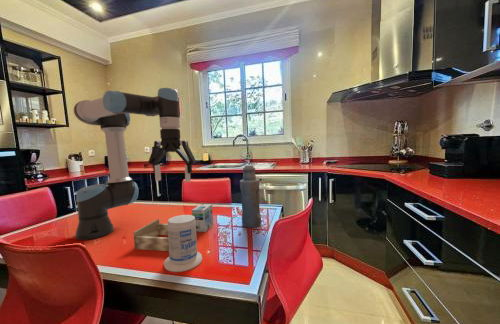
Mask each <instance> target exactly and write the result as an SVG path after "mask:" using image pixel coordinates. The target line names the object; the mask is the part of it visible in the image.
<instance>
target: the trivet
mask: <svg viewBox="0 0 500 324" xmlns="http://www.w3.org/2000/svg"><path fill="white" fill-rule="evenodd" d="M202 260H203V255H202V254H201V252H199V251H197V257H196V258H195V259H194V260H193V261H192V262H190V263H187V264H182V265H177V264H173V263H171V261H170V257H169V256H168V257H166V259H164V261H163V267H164V269H165V270H166V271H168V272H171V273H182V272H187V271H190V270H193V269H195V268H197V266H199V265H200V264H201V263H202Z"/></svg>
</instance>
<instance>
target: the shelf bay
mask: <svg viewBox="0 0 500 324" xmlns="http://www.w3.org/2000/svg"><path fill="white" fill-rule="evenodd" d="M132 234H133V244H134V249H135V250H147V251H163V252H169V241H168V237H167V236H168V223H160V219H159V218H157V219H154V220H153V221H151V222H149V223H148V224H146V225H144V226H142V227H140V228H138V229H137V230H135V231H133V233H132ZM160 235H161V236H162V237H161V236H160ZM163 236H165V237H163Z"/></svg>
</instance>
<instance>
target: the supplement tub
mask: <svg viewBox="0 0 500 324" xmlns="http://www.w3.org/2000/svg"><path fill="white" fill-rule="evenodd" d="M167 224H168V235H167V236H168V237H167V238H168V241H169V251H168V255H169V256H168V257H170V261H171V263H173V264H177V265H182V264H187V263H190V262H192V261H193V260H194V259H195V258H196V257H197V252H198V248H197V247H198V244H197V240H198V239H197V232H196V221H195V217H194V216H192V214H181V215H175V216H172V217H170V218H169V219H168V220H167Z"/></svg>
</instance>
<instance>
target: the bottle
mask: <svg viewBox="0 0 500 324" xmlns="http://www.w3.org/2000/svg"><path fill="white" fill-rule="evenodd" d="M242 173H243V174H242V179H240V180H239V188H240V189H239V190H240V193H241V194H240V195H241V212H242V213H241V224H242V226H243V227H245V228H257V227H259V226H261V225H262V215H261V210H260V209H261V208H260V179H258V178H257V176H256V168H255V167H254V165H251V164H250V165H244V167H243V169H242Z"/></svg>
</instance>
